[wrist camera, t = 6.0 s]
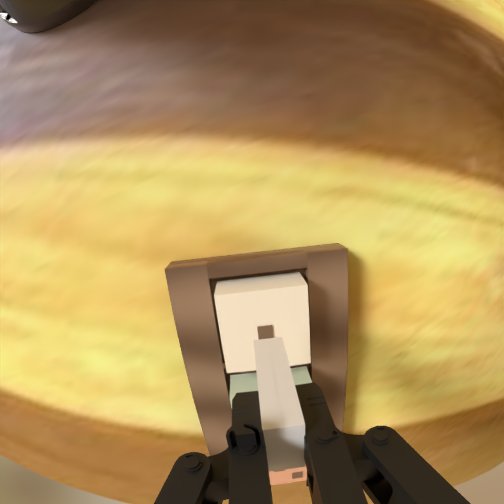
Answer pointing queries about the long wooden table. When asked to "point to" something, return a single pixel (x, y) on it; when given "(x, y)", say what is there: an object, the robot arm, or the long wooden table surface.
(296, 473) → the button three terracotta
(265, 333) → the button one cream
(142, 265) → the long wooden table surface
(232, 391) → the button two sage
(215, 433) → the brown wooden tray
